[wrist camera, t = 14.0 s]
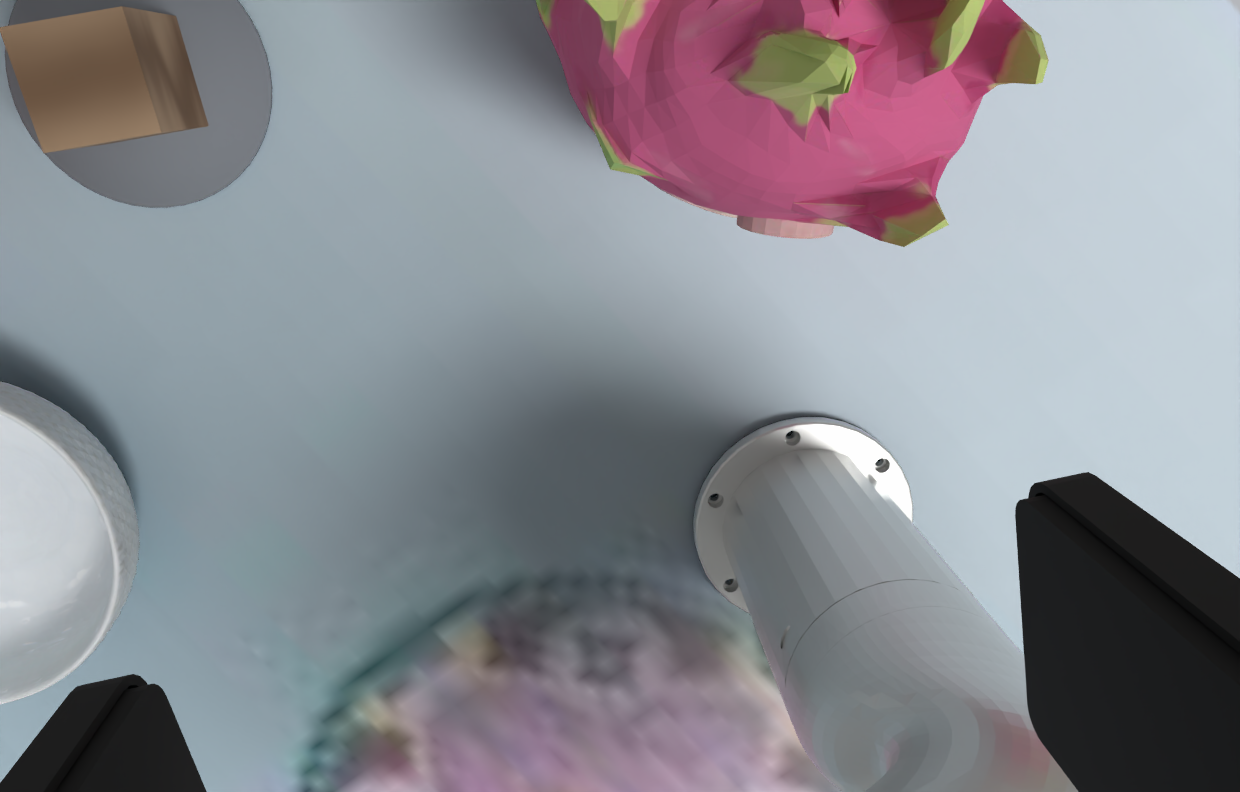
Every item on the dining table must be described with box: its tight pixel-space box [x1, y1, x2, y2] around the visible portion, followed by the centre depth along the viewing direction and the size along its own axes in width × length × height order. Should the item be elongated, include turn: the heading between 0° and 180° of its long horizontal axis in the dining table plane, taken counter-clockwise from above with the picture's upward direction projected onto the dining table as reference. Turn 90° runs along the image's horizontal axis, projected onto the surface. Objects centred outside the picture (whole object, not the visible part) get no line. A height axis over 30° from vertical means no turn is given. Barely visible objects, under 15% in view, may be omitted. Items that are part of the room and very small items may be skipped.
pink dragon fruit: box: [536, 0, 1048, 247], centre depth 32 cm, size 18×14×30 cm
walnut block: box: [0, 6, 209, 153], centre depth 42 cm, size 5×5×6 cm
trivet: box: [5, 0, 272, 208], centre depth 45 cm, size 12×12×1 cm
